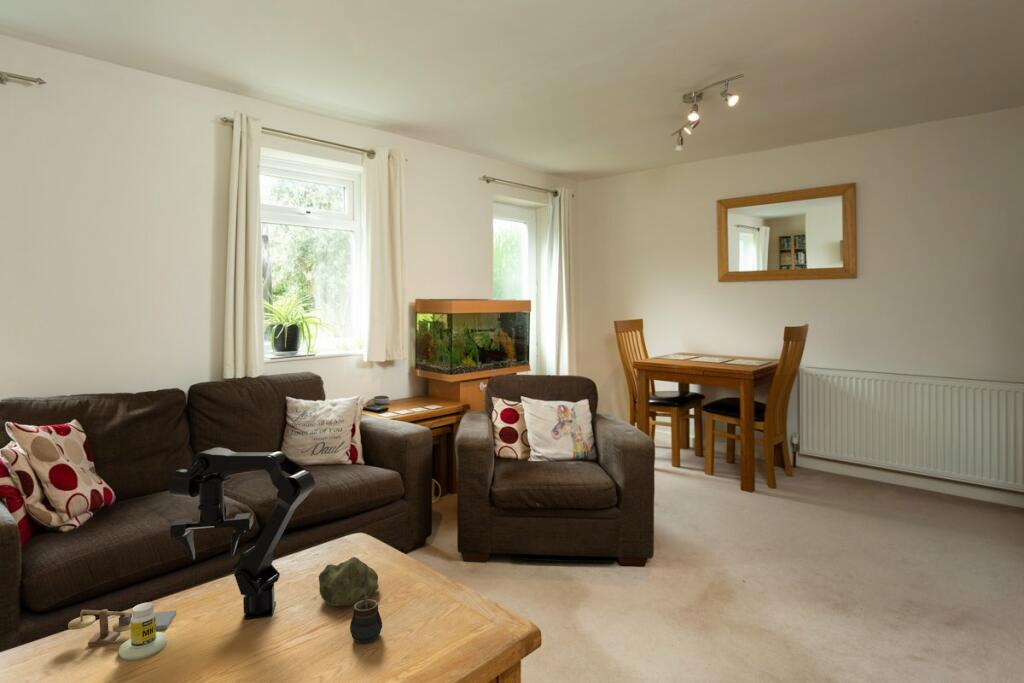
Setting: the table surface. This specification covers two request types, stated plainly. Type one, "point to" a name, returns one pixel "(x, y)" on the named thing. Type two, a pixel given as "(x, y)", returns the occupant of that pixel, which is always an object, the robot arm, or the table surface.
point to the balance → (102, 625)
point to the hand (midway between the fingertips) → (213, 557)
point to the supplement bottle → (143, 625)
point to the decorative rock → (347, 582)
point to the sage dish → (138, 653)
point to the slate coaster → (164, 619)
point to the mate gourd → (365, 621)
